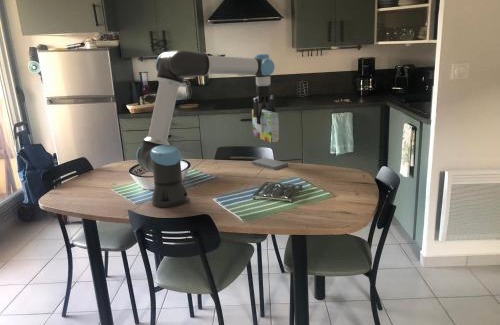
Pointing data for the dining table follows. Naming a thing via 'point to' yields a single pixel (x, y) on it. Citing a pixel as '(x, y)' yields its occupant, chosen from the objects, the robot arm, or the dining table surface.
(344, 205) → the dining table surface
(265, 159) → the slate board
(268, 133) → the snack box
